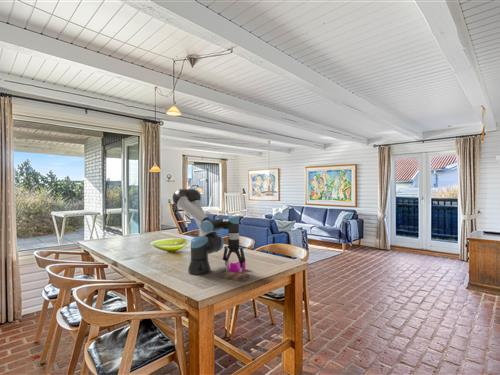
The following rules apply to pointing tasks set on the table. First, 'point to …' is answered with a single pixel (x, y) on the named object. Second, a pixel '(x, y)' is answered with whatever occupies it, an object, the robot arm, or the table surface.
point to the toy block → (236, 267)
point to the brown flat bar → (234, 276)
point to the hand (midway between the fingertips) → (234, 271)
